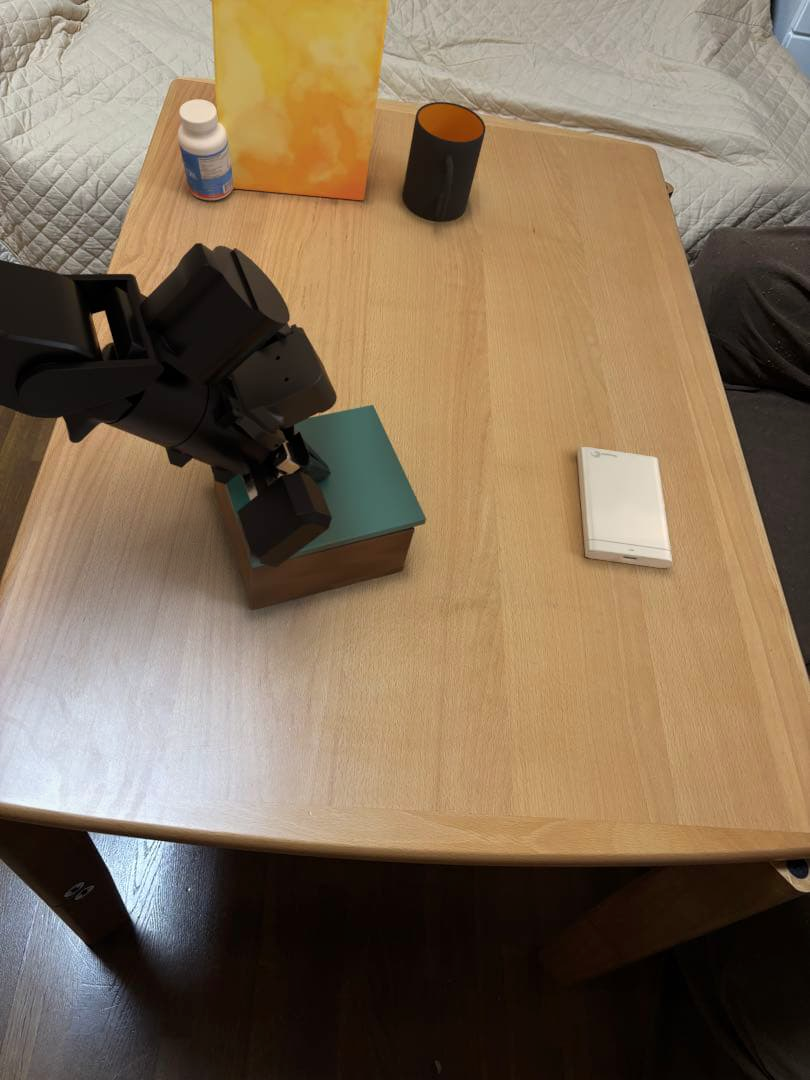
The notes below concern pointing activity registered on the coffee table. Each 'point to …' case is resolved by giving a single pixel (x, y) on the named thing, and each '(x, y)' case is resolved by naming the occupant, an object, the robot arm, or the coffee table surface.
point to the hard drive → (623, 508)
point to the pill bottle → (205, 151)
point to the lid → (352, 480)
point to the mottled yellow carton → (299, 92)
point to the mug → (442, 160)
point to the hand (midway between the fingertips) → (325, 473)
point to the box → (313, 563)
